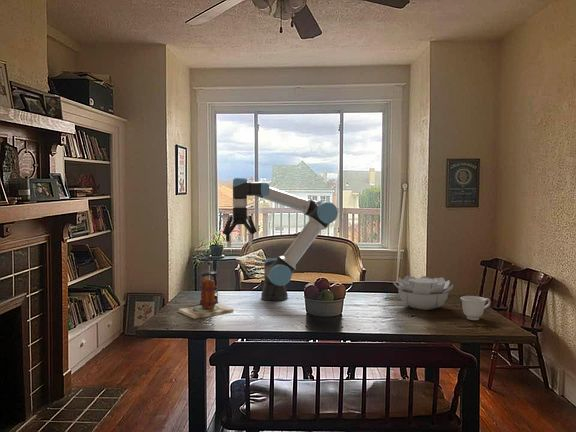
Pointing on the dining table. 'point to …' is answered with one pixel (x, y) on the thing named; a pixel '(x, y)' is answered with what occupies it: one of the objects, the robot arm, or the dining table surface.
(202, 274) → the french press
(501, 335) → the dining table surface
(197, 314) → the serving board
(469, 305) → the teacup
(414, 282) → the decorative bowl
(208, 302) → the mug
